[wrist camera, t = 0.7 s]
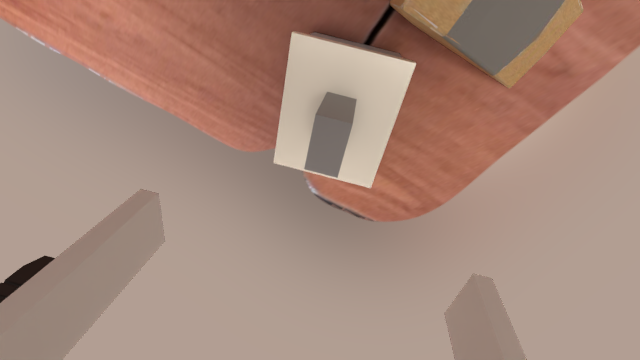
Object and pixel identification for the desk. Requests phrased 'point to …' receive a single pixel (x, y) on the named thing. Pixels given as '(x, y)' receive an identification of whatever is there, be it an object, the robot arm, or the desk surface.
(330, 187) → the desk surface
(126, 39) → the desk surface
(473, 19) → the sandwich container
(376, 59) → the lid
